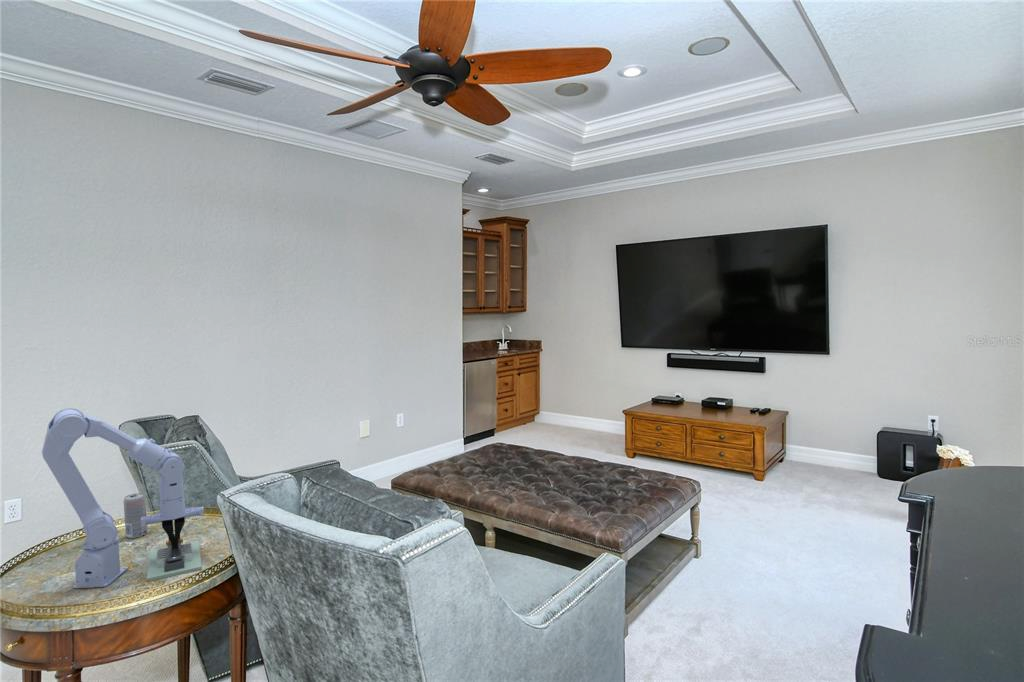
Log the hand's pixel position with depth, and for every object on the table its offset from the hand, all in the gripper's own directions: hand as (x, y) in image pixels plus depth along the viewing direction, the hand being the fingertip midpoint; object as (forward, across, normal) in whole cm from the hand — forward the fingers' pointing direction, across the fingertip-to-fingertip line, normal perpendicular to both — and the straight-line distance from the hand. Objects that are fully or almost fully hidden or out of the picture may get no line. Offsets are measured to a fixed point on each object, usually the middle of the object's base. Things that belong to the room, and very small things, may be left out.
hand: (174, 545), depth 152 cm
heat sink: (+3, 0, +3) cm, 4 cm away
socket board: (+3, 0, +3) cm, 4 cm away
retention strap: (+1, 0, +3) cm, 3 cm away
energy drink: (+3, +10, -23) cm, 25 cm away
